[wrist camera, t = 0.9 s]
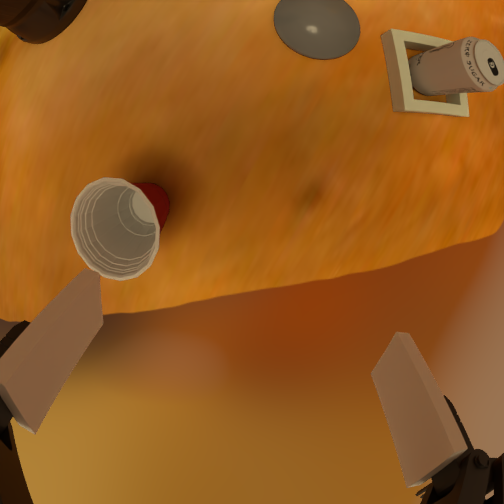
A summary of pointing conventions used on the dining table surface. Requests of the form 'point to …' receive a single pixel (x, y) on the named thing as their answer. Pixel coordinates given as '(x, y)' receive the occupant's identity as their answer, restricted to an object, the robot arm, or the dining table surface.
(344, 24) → the coaster
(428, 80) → the energy drink can
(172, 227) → the dining table surface
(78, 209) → the plastic cup
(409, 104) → the frame
